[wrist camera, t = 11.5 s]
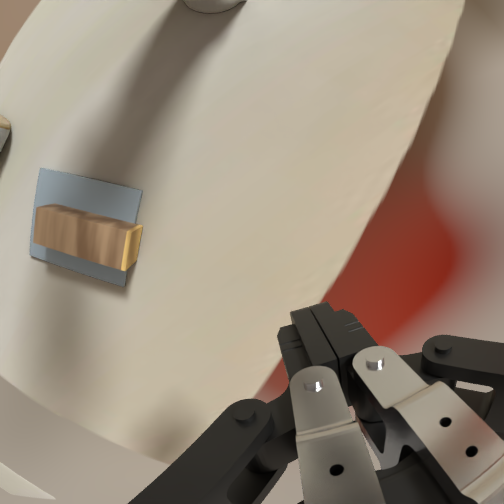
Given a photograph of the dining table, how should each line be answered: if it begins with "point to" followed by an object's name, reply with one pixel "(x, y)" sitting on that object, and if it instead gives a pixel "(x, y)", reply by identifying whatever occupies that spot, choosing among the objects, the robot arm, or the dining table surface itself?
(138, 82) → the dining table surface
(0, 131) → the ceramic mug
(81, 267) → the slate mat
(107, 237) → the walnut block
